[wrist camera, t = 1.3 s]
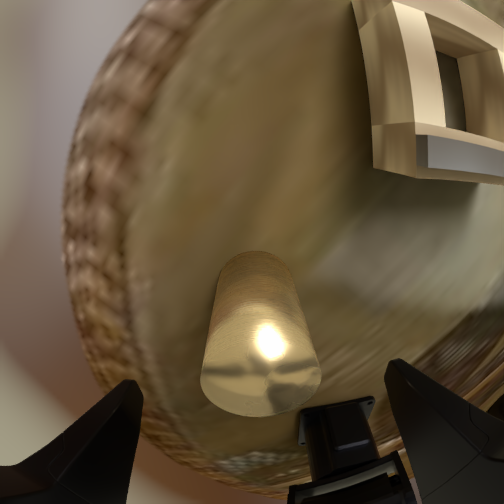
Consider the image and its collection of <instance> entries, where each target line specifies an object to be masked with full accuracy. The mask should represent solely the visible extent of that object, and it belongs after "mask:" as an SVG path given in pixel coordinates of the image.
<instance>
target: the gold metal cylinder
mask: <svg viewBox="0 0 504 504" xmlns="http://www.w3.org/2000/svg"><path fill="white" fill-rule="evenodd" d="M320 381H321V370H320V366H319V363H318V359H317V356H316V353H315V349H314V346H313V343H312V340H311V336H310V333H309V330H308V327H307V323H306V320H305V317H304V314H303V311H302V308H301V305H300V301H299V298H298V295H297V292H296V289H295V286H294V283H293V280H292V277H291V274H290V271H289V269H288V268H287V266H286V265H285V263H284V262H283V261H282V260H280V259H279V258H278V257H276V256H274V255H272V254H270V253H267V252H262V251H250V252H245V253H242V254H239V255H237V256H235V257H233V258H232V259H231V260H229V261H228V262H227V263H226V264H225V266H224V267H223V269H222V271H221V273H220V275H219V280H218V285H217V290H216V295H215V300H214V305H213V310H212V316H211V321H210V327H209V332H208V337H207V343H206V349H205V354H204V360H203V366H202V371H201V377H200V383H201V388H202V390H203V392H204V394H205V395H206V397H207V398H208V399H209V400H210V401H211V402H212V403H213V404H215V405H216V406H218V407H219V408H221V409H223V410H225V411H228V412H230V413H234V414H237V415H242V416H249V417H266V416H274V415H279V414H282V413H285V412H288V411H291V410H293V409H295V408H297V407H299V406H301V405H302V404H304V403H305V402H306V401H308V400H309V399H310V398H311V397H312V396H313V395H314V394H315V392H316V391H317V389H318V387H319V385H320Z"/></svg>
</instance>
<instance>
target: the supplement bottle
mask: <svg viewBox="0 0 504 504" xmlns="http://www.w3.org/2000/svg"><path fill="white" fill-rule="evenodd" d="M488 414H490V415H492V416H494V417H496V418H498V419H500V420H502V421H504V394H503V395H502V396H501V397H500V398H499V399H498V400H497V401H496V402H495V403H494V404H493V406H492V407H491V408H490V409H489V411H488Z"/></svg>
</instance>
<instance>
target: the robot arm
mask: <svg viewBox="0 0 504 504" xmlns="http://www.w3.org/2000/svg"><path fill="white" fill-rule="evenodd" d="M384 382H385V385H386V389H387V393H388V397H389V400H390V404H391V408H392V412H393V415H394V418H395V421H396V424H397V426H398V429H399V432H400V435H401V437H402V440H403V443H404V446H405V449H406V452H407V455H408V458H409V461H410V464H411V467H412V470H413V473H414V476H415V479H416V483H417V486H418V489H419V493H420V496H421V499H422V504H504V421H502V420H500V419H498V418H496V417H494V416H492V415H490V414H488V413H486V412H484V411H482V410H481V409H479V408H477V407H476V406H474V405H473V404H471V403H468V401H466V400H465V399H463V398H461V397H460V396H458V395H457V394H455V393H454V392H452V391H450V390H449V389H447V388H446V387H444V386H443V385H441V384H440V383H438V382H436V381H435V380H433V379H432V378H430V377H429V376H427V375H426V374H424V373H422V372H421V371H419V370H418V369H416V368H415V367H413V366H412V365H410V364H409V363H407V362H405V361H404V360H402V359H400V358H397V359H394V360H390V361H389V363H388V366H387V369H386V372H385V375H384ZM143 400H144V398H143V394H142V392H141V390H140V388H139V386H138V384H137V382H136V381H135V380H130V379H125V380H123V381H122V382H121V383H119V384H118V385H117V386H116V387H115V388H114V389H113V390H111V391H110V392H109V393H108V394H107V395H106V396H104V397H103V398H102V399H101V400H100V401H99V402H97V403H96V404H95V405H94V406H93V407H92V408H90V409H89V410H88V411H87V412H86V413H85V414H83V415H82V416H81V417H80V418H79V419H78V420H76V421H75V422H74V423H73V424H72V425H71V426H69V427H68V428H67V429H66V430H65V431H64V432H63V433H61V434H60V435H59V436H57V437H56V438H55V439H54V440H52V441H51V442H50V443H49V444H47V445H46V446H44V447H43V448H42V449H40V450H39V451H37V452H36V453H34V454H33V455H31V456H29V457H28V458H26V459H25V460H23V461H22V462H20V463H18V464H16V465H12V466H0V504H126V500H127V494H128V488H129V483H130V477H131V472H132V467H133V462H134V457H135V452H136V448H137V443H138V439H139V434H140V426H141V416H142V408H143ZM374 404H375V398H374V397H373V396H369V397H365V398H361V399H356V400H352V401H347V402H342V403H337V404H332V405H326V406H320V407H314V408H307V409H303V410H302V411H301V412H300V421H299V432H298V445H299V446H304V445H306V448H307V454H308V460H309V466H310V472H311V478H312V482H308V483H304V484H300V485H291V486H289V494H288V498H287V504H417V501H416V498H415V494H414V491H413V489H412V486H411V483H410V481H409V478H408V476H407V473H406V471H405V468H404V466H403V463H402V461H401V459H400V456H399V454H398V452H397V450H395V451H393V452H391V453H390V454H389V455H387V456H385V457H382V458H380V455H379V452H378V449H377V446H376V444H375V441H374V438H373V435H372V432H371V429H370V427H369V424H368V421H367V420H368V418H369V416H370V413H371V411H372V409H373V406H374ZM393 472H395V475H394V476H391V477H389V478H388V474H391V473H393Z"/></svg>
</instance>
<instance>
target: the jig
mask: <svg viewBox="0 0 504 504" xmlns="http://www.w3.org/2000/svg"><path fill="white" fill-rule="evenodd" d="M351 1H352V5H353V9H354V13H355V17H356V22H357V26H358V31H359V36H360V41H361V46H362V51H363V57H364V63H365V70H366V77H367V84H368V93H369V102H370V113H371V126H372V144H373V168H376V169H381V170H385V171H389V172H394V173H398V174H402V175H406V176H410V177H414V178H424V179H442V180H456V181H467V182H478V183H487V184H495V185H503V186H504V29H503V28H502V27H501V26H499V25H498V24H496V23H495V22H494V21H492V20H491V19H489V18H488V17H486V16H485V15H483V14H481V13H480V12H478V11H477V10H475V9H473V8H472V7H470V6H468V5H467V4H465V3H463V2H461V1H459V0H351ZM435 50H436V51H438V52H441V53H444V54H446V55H449V56H451V57H454V58H456V59H457V63H458V68H459V73H460V79H461V85H462V92H463V99H464V108H465V118H466V132H464V131H460V130H455V129H451V128H446V124H445V112H444V102H443V94H442V86H441V80H440V74H439V68H438V63H437V58H436V53H435Z"/></svg>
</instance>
